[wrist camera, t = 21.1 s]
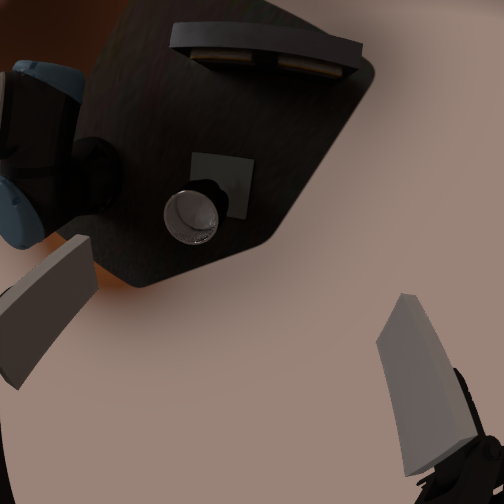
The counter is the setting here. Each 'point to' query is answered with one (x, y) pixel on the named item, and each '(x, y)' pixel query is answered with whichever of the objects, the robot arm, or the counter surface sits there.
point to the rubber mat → (236, 166)
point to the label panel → (268, 50)
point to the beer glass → (200, 206)
